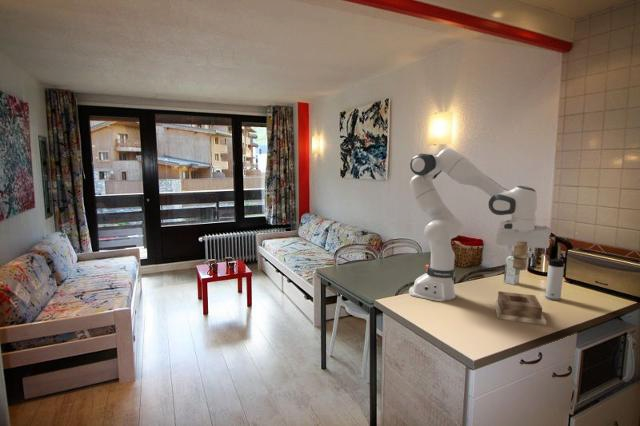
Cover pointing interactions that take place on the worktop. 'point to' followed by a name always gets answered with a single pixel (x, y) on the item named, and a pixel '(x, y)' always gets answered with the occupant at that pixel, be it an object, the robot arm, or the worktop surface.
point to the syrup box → (511, 272)
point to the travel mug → (554, 279)
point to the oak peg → (520, 256)
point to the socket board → (519, 308)
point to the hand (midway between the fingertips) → (520, 256)
